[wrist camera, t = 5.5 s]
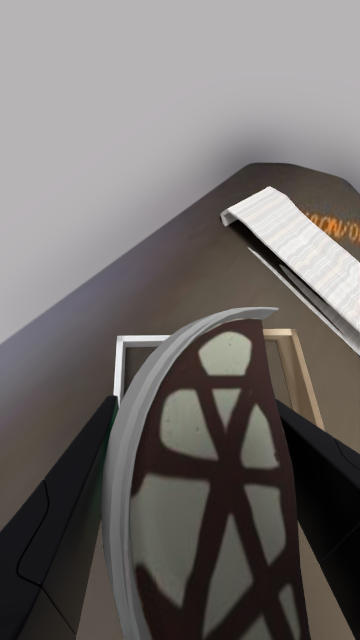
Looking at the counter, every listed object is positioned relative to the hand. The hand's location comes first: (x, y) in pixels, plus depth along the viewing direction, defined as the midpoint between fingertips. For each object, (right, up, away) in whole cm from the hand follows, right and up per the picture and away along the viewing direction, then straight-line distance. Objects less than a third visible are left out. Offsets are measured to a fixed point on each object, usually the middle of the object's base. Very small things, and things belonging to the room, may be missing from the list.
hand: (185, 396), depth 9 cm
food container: (-2, -4, +5) cm, 7 cm away
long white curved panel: (+24, +10, +23) cm, 35 cm away
